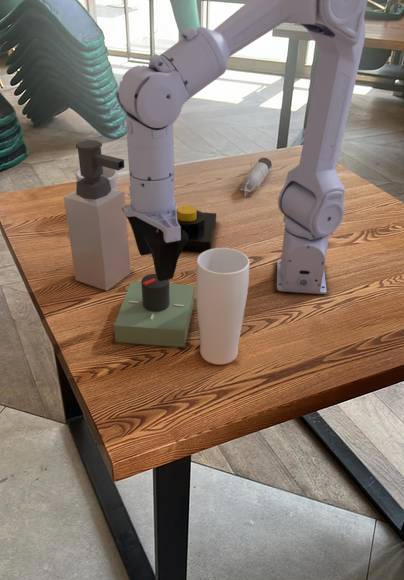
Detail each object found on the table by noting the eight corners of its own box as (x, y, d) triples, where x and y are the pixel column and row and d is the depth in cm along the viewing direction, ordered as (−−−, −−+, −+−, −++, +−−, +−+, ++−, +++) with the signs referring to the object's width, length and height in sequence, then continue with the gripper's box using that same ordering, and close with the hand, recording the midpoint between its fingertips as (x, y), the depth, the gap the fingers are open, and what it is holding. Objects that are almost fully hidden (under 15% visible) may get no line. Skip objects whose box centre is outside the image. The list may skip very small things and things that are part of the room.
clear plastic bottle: (255, 168, 135) (257, 140, 131) (275, 171, 134) (277, 143, 130) (233, 197, 122) (235, 167, 118) (255, 201, 121) (257, 170, 117)
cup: (128, 222, 112) (126, 183, 107) (88, 228, 110) (84, 188, 105) (114, 200, 120) (111, 163, 115) (76, 206, 117) (71, 167, 112)
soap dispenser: (118, 295, 92) (105, 158, 78) (75, 279, 95) (56, 146, 81) (141, 277, 96) (133, 144, 82) (100, 263, 99) (85, 133, 86)
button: (195, 223, 104) (195, 214, 103) (175, 222, 104) (175, 213, 103) (197, 214, 107) (197, 205, 106) (178, 213, 107) (178, 204, 106)
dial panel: (184, 347, 81) (184, 329, 79) (115, 342, 82) (113, 324, 80) (194, 301, 91) (194, 284, 89) (132, 296, 91) (131, 279, 89)
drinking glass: (240, 339, 83) (247, 247, 74) (245, 369, 78) (253, 274, 68) (194, 340, 83) (195, 247, 73) (195, 370, 78) (196, 274, 68)
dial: (158, 293, 87) (157, 268, 84) (175, 304, 84) (174, 279, 82) (137, 302, 85) (135, 277, 82) (153, 314, 82) (152, 289, 80)
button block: (210, 253, 103) (210, 232, 100) (155, 249, 104) (154, 229, 101) (216, 223, 112) (216, 204, 110) (165, 220, 113) (165, 201, 110)
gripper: (105, 157, 77) (113, 248, 85) (140, 198, 67) (146, 297, 75) (154, 150, 79) (158, 239, 88) (196, 189, 69) (195, 286, 77)
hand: (155, 265), depth 82 cm, fingers open, 7 cm apart
